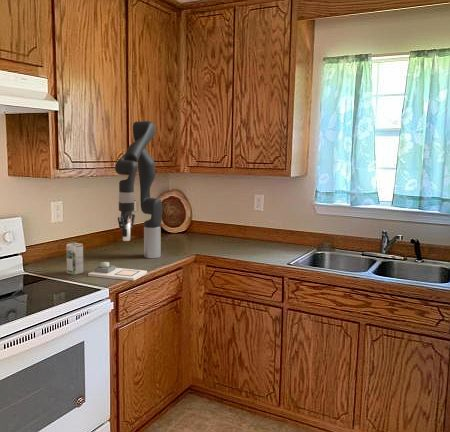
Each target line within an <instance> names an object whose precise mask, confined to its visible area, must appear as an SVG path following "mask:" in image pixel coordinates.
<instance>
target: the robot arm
mask: <svg viewBox="0 0 450 432" xmlns="http://www.w3.org/2000/svg"><path fill="white" fill-rule="evenodd" d="M155 133H156V126H155V124H154V122H153V121H150V120H143V121H142V120H141V121H140V120H139V121H134V122H133V125H132V135H133V142H132V143H131V144H130V145H128V147H127V150H126V152H125V153H124V154H123V155H122V156H121V157H120V158H119V159H118V160H117V161H116V162H115V166H114V170H115V172H116V173H117V175H119V176H120V175H121V176H122V175H123V176H127V178H126V179H122V180H119V181H118V182H119V183H118V211H119V212H120V216H118V217H117V221H118V222H117V223H118V227H119V229H121V230H122V231H121V234H122V235H121V236H122V238H123V237H127V225H128V221H129V219H130V236H132V227H133V226H134V224H135V223H134V222H135V218H136V217H135V216H136V215H135V214H133V212H134V211H135V188H134V186H135V180H136V175H137V173H138V178H139V179H138V180H139V189H140V196H139V197H140V201H139V202H140V209H141V212H142V213H143V214H145V215H151V217H150V219H148V220H145V221H144V222H143V242H144V243H143V249H144V250H143V253H144V254H143V257H144V258H146V259H147V258H148V259H158V258H161V256H162V255H161V254H162V253H161V252H162V251H161V247H162V245H161V244H162V241H161V240H162V237H161V235H162V232H161V230H162V229H161V227H162V225H161V224H162V221H163V203H162V200H161V198H157V197H151V187H152V184H153V182H154V181H155V178H156V164H155V160H154V159H153V157H152V156H151V154H150V153H149V152H148V151H147V148H146V147H148V145H149V144H150V143H151V141H152V139H154V137H155ZM124 222H126V223H124Z"/></svg>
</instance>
